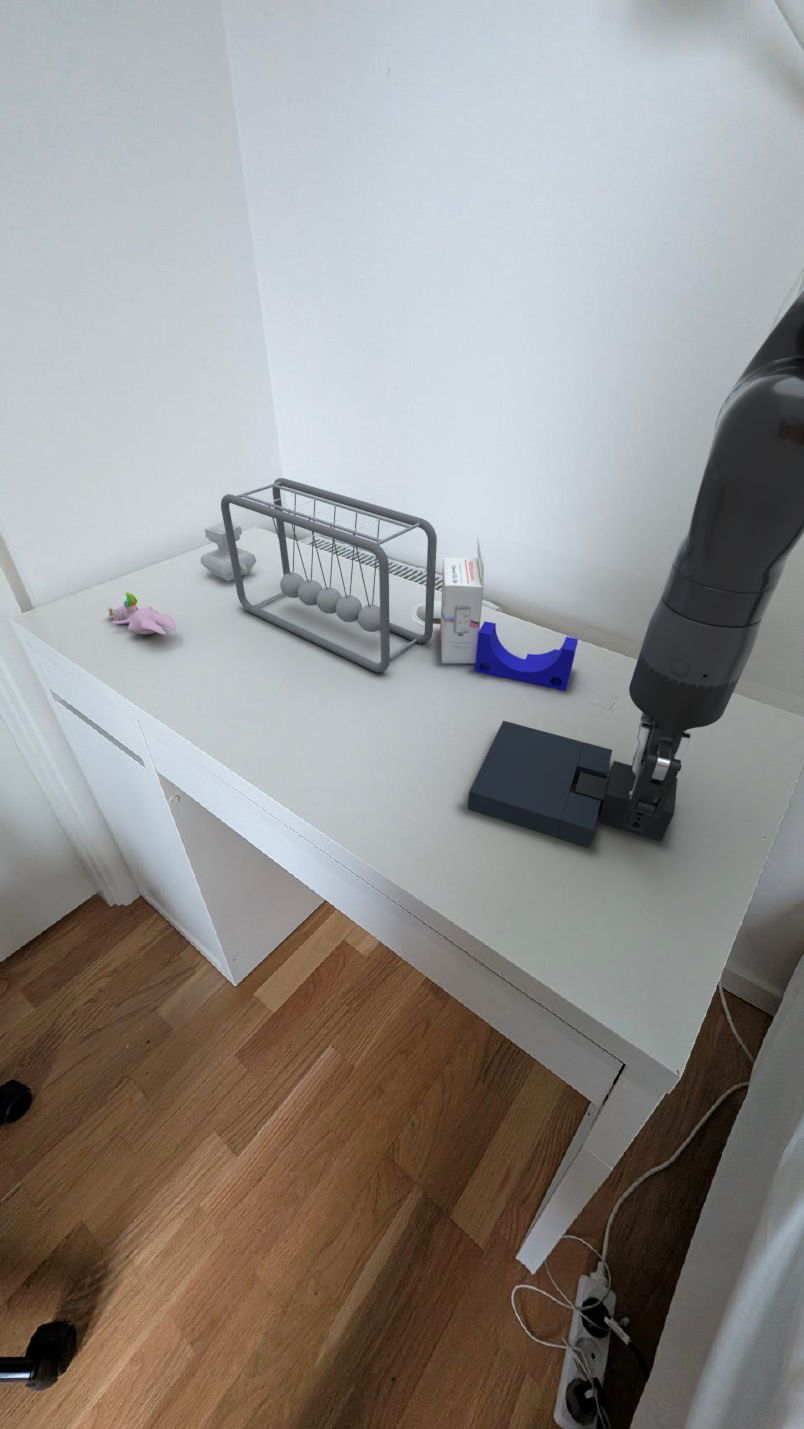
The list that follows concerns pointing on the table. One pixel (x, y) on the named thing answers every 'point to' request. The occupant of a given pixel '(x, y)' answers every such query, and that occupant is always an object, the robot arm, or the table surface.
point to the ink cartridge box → (461, 608)
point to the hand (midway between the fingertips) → (638, 795)
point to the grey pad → (539, 782)
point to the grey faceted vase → (225, 553)
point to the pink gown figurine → (141, 618)
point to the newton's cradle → (329, 597)
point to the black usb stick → (622, 799)
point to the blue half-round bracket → (524, 661)
